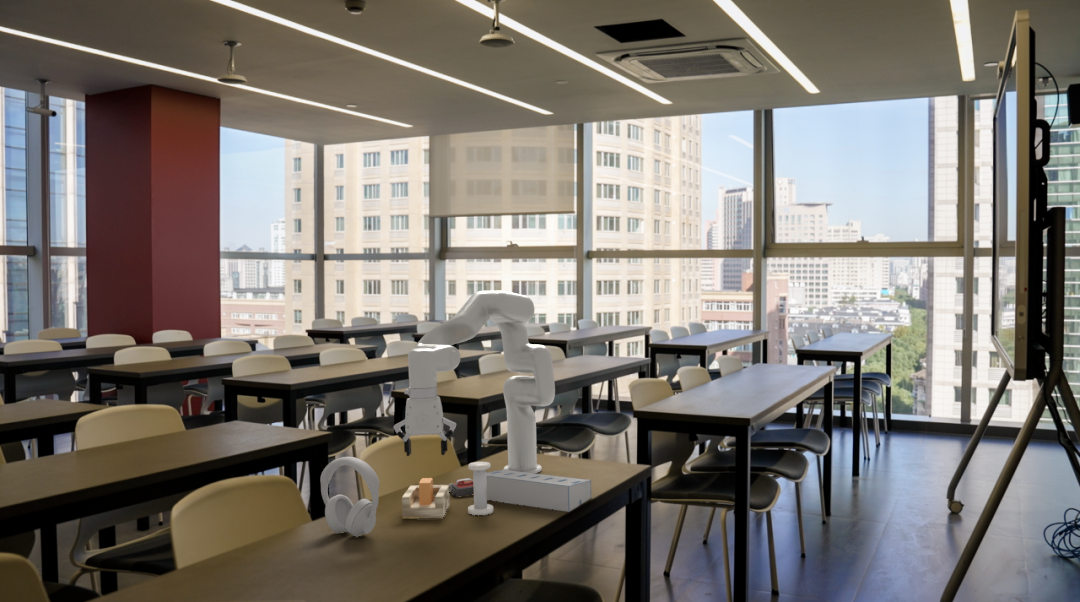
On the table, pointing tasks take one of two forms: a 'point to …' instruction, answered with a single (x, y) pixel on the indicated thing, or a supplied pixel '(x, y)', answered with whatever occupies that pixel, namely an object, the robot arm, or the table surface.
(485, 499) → the bobbin
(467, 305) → the robot arm
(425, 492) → the orange rectangular block
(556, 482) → the warehouse
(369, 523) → the headphones
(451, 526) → the table surface
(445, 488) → the beige armchair
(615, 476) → the table surface
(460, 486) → the toolbox
